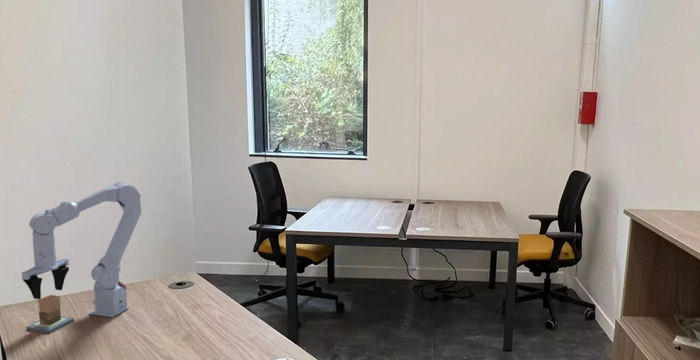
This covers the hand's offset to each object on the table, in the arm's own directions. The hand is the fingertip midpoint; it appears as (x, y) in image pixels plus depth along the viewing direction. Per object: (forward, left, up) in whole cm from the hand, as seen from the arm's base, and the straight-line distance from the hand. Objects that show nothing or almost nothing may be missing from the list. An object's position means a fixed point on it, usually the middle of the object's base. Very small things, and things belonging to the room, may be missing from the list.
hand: (48, 293), depth 151 cm
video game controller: (0, -27, -11) cm, 29 cm away
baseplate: (0, 0, -10) cm, 10 cm away
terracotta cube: (0, 0, -5) cm, 5 cm away
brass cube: (0, 0, -9) cm, 9 cm away
